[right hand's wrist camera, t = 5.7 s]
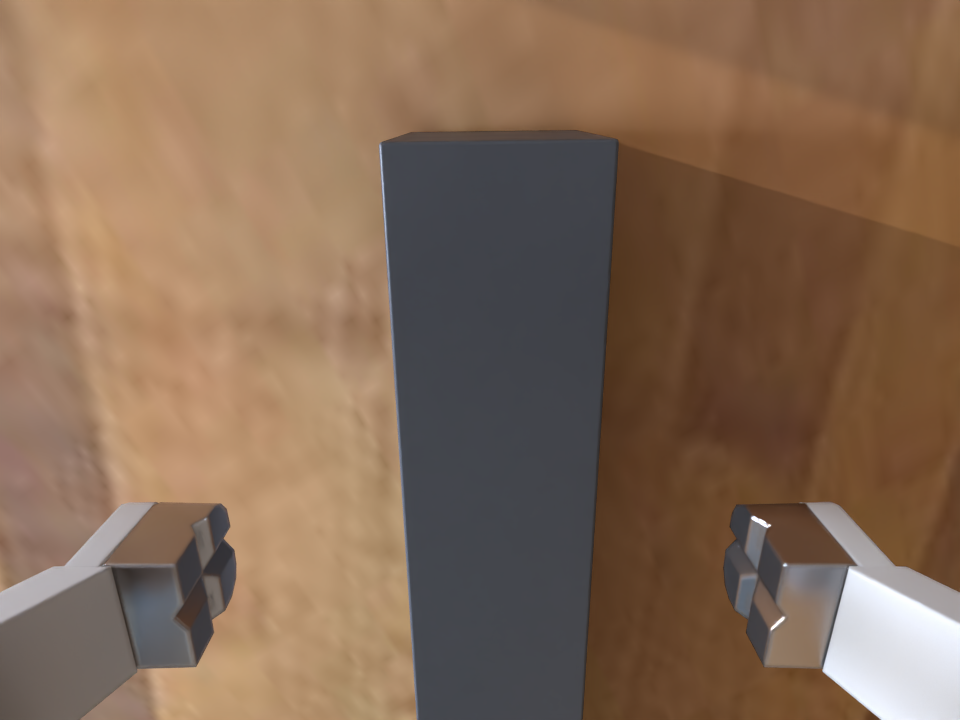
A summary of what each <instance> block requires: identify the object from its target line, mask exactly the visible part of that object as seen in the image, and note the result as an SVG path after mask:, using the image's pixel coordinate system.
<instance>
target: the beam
mask: <svg viewBox="0 0 960 720" xmlns="http://www.w3.org/2000/svg"><path fill="white" fill-rule="evenodd" d="M618 148H619V142H618V140H617V139H615V138H610V137H605V136H601V135H596V134H591V133H587V132H582V131H577V130H550V131H473V132H411V133H407V134H404V135H401V136H398V137H395V138H392V139H389V140H386V141H383V142H381V143H380V145H379V152H380V167H381V182H382V197H383V213H384V228H385V243H386V258H387V273H388V289H389V304H390V319H391V334H392V349H393V364H394V380H395V395H396V410H397V425H398V440H399V456H400V471H401V486H402V501H403V516H404V532H405V547H406V562H407V577H408V592H409V607H410V623H411V638H412V653H413V668H414V683H415V699H416V714H417V720H583V705H584V689H585V674H586V658H587V642H588V626H589V610H590V594H591V578H592V562H593V546H594V530H595V514H596V499H597V483H598V467H599V451H600V435H601V419H602V403H603V387H604V371H605V355H606V339H607V323H608V308H609V292H610V276H611V260H612V244H613V228H614V212H615V196H616V180H617V164H618Z"/></svg>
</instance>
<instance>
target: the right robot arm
mask: <svg viewBox="0 0 960 720" xmlns="http://www.w3.org/2000/svg"><path fill="white" fill-rule="evenodd" d="M229 528H230V522H229V518H228V513H227V509H226V508H225V507H224V506H223V505H222V504H217V503H169V502H160V503H157V502H129V503H125V504H122V505H120V506H119V508H118V509H117V510H116V511H115V512H114V513H113V514H112V515H111V516H110V517H109V518H108V519H107V521H106V522H105V523H104V524H103V525H102V526H101V527H100V528H99V529H98V530H97V531H96V532H95V534H94V535H93V536H92V537H91V538H90V539H89V540H88V541H87V542H86V543H85V544H84V545H83V547H82V548H81V549H80V550H79V551H78V552H77V553H76V554H75V555H74V556H73V557H72V558H71V560H70V561H69V562H68V563H67V564H66V565H65V566H54V567H52V568H49V569H47V570H45V571H43V572H41V573H39V574H37V575H35V576H33V577H31V578H29V579H27V580H25V581H23V582H21V583H18V584H16V585H14V586H12V587H10V588H8V589H6V590H4V591H2V592H0V720H80V719H81V718H82V717H83V716H84V715H86V714H87V713H88V712H89V711H91V710H92V709H93V708H94V707H95V706H97V705H98V704H99V703H100V702H101V701H103V700H104V699H105V698H106V697H108V696H109V695H110V694H111V693H112V692H114V691H115V690H116V689H117V688H118V687H120V686H121V685H122V684H123V683H124V682H126V681H127V680H128V679H129V678H131V677H132V676H133V675H134V674H135V673H137V669H146V668H181V667H196V666H197V664H198V662H199V660H200V659H201V657H202V655H203V653H204V651H205V649H206V647H207V645H208V643H209V641H210V639H211V637H212V635H213V633H214V629H213V624H212V619H214V618H215V617H217V616H218V615H219V614H221V613H222V612H224V611H225V610H226V608H227V606H228V604H229V602H230V599H231V597H232V594H233V590H234V585H235V581H236V558H235V551H234V549H233V548H232V547H231V546H230V545H229V544H228V543H227V542H226V541H225V540H224V539H223V538H224V537H225V535H226V533H227V531H228V530H229ZM730 528H731V530H732V531H733V533H734V535H735V537H736V538H737V539H736V540H735V541H734V542H733V543H732V544H731V545H730V546H729V547H728V548H727V549H726V552H725V559H724V567H723V569H724V580H725V587H726V590H727V594H728V597H729V600H730V602H731V604H732V606H733V608H734V610H735V611H736V612H738V613H739V614H741V615H742V616H743V617H745V618H746V619H748V624H747V629H746V633H747V635H748V637H749V639H750V641H751V643H752V645H753V647H754V649H755V651H756V653H757V655H758V657H759V658H760V660H761V662H762V664H763V666H764V667H778V668H813V669H823V671H822V672H824V673H825V674H826V675H827V676H829V677H830V678H831V679H832V680H833V681H835V682H836V683H837V684H838V685H839V686H841V687H842V688H843V689H844V690H845V691H847V692H848V693H849V694H850V695H852V696H853V697H854V698H855V699H856V700H858V701H859V702H860V703H861V704H862V705H864V706H865V707H866V708H867V709H868V710H870V711H871V712H872V713H873V714H875V715H876V716H877V717H878V718H879V719H881V720H960V592H958V591H956V590H954V589H952V588H950V587H948V586H946V585H943V584H941V583H939V582H937V581H935V580H933V579H931V578H929V577H927V576H925V575H923V574H921V573H919V572H917V571H915V570H913V569H911V568H908V567H906V566H895V565H894V564H893V563H892V562H891V561H890V560H889V558H888V557H887V556H886V555H885V554H884V553H883V552H882V551H881V550H880V549H879V548H878V546H877V545H876V544H875V543H874V542H873V541H872V540H871V539H870V538H869V537H868V536H867V535H866V533H865V532H864V531H863V530H862V529H861V528H860V527H859V526H858V525H857V524H856V523H855V522H854V520H853V519H852V518H851V517H850V516H849V515H848V514H847V513H846V512H845V511H844V510H843V509H842V507H841V506H840V505H838V504H835V503H833V502H809V503H790V504H738V505H736V506H735V508H734V510H733V512H732V516H731V522H730Z"/></svg>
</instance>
